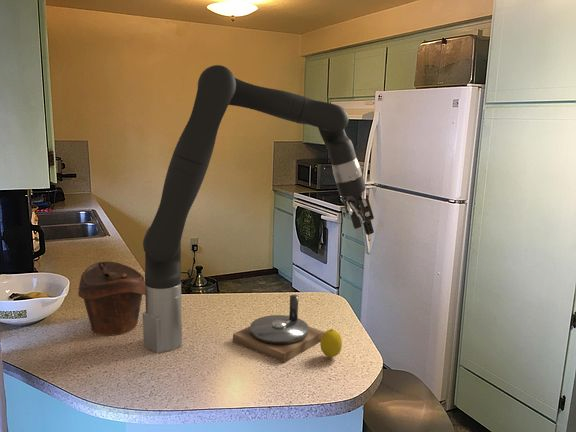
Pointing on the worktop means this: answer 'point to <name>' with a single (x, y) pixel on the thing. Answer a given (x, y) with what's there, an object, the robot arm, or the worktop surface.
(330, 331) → the lemon
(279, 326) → the handwheel
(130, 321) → the chocolate muffin
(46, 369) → the worktop surface
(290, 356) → the wheel stand
